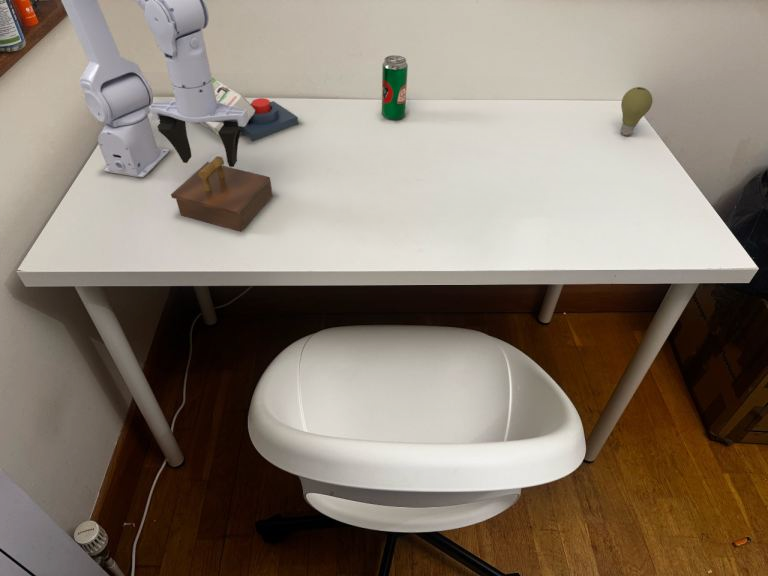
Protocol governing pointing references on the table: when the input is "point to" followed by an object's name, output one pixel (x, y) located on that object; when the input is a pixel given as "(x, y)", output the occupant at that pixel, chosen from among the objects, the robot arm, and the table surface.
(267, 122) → the box
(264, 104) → the button
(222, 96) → the ink box
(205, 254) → the table surface
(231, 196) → the chest lid
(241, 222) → the chest
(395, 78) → the soda can
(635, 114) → the light bulb
